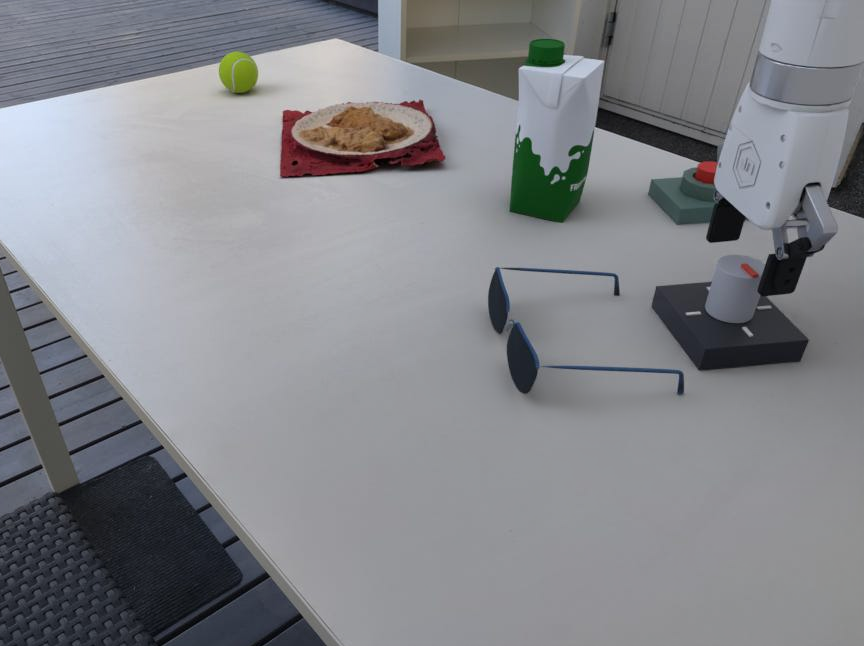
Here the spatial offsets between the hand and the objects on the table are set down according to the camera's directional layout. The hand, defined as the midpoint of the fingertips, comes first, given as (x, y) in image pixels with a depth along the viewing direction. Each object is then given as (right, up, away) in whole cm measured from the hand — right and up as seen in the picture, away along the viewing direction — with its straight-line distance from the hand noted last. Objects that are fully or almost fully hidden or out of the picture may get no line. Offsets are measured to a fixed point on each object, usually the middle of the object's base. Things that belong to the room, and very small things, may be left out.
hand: (747, 265), depth 69 cm
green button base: (+7, +11, +27) cm, 30 cm away
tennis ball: (-60, +40, +67) cm, 99 cm away
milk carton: (-13, +11, +27) cm, 32 cm away
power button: (+7, +14, +24) cm, 29 cm away
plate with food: (-38, +25, +47) cm, 65 cm away
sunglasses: (-15, -8, +3) cm, 17 cm away
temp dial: (0, -4, +3) cm, 5 cm away
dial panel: (0, -6, +4) cm, 8 cm away
